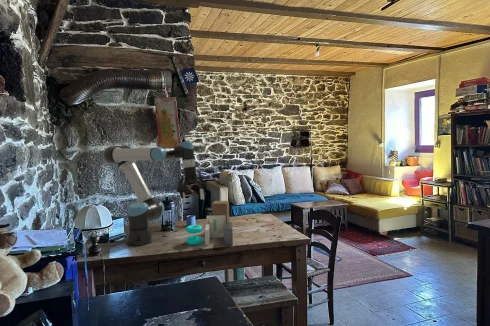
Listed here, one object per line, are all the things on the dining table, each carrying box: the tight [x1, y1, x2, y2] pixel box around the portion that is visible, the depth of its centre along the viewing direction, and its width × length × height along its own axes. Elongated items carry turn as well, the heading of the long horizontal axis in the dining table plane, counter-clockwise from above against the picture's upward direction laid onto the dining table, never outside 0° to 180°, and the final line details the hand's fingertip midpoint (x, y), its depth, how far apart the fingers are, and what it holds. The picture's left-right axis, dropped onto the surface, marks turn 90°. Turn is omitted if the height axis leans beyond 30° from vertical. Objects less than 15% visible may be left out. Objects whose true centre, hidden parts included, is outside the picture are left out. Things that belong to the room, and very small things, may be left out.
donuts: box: [185, 224, 203, 246], centre depth 208 cm, size 10×10×10 cm
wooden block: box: [211, 200, 230, 222], centre depth 231 cm, size 10×10×20 cm
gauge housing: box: [206, 215, 234, 247], centre depth 210 cm, size 16×18×14 cm
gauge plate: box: [204, 219, 211, 246], centre depth 209 cm, size 2×15×12 cm, turn 2°
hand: (193, 201), depth 211 cm, fingers open, 13 cm apart
